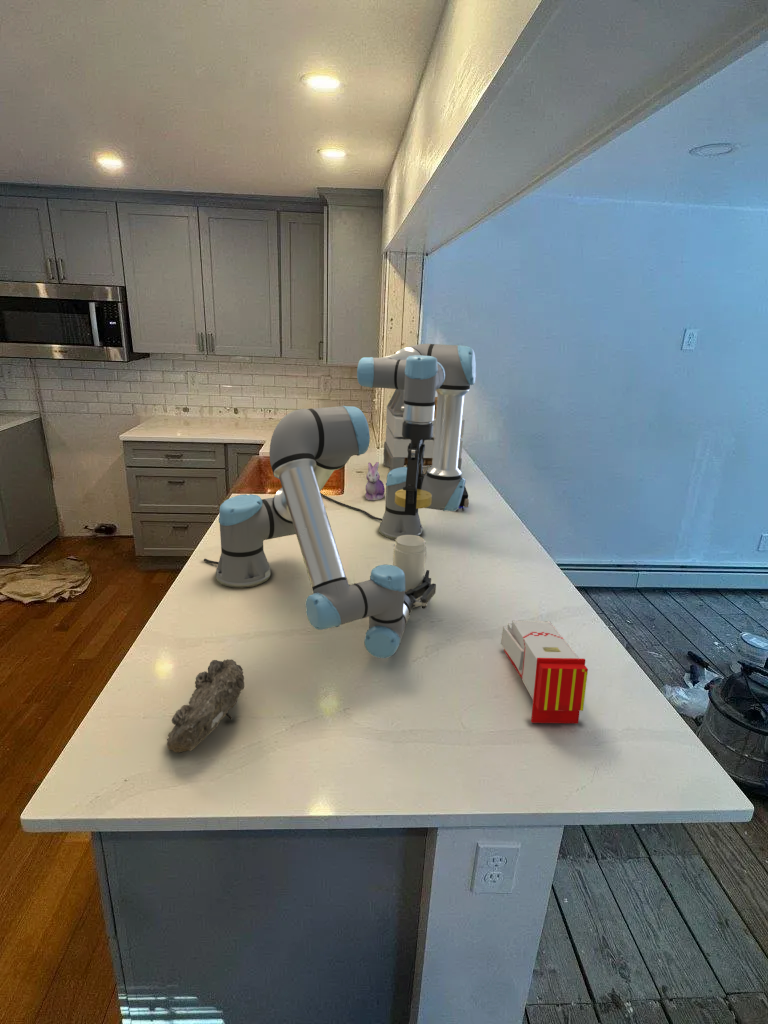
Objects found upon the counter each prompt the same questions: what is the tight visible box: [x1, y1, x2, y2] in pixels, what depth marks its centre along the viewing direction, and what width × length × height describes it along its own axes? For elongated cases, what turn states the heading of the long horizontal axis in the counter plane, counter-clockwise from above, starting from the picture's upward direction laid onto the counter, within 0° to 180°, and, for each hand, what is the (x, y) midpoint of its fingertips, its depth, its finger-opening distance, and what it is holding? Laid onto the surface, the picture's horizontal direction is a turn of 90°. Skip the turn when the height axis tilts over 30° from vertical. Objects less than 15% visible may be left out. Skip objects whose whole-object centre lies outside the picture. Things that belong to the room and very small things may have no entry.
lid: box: [395, 489, 432, 510], centre depth 145 cm, size 9×10×2 cm
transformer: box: [383, 389, 465, 472], centre depth 268 cm, size 34×33×41 cm
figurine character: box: [455, 486, 470, 512], centre depth 229 cm, size 7×8×15 cm
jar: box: [392, 535, 427, 609], centre depth 152 cm, size 9×9×18 cm
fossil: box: [166, 658, 245, 754], centre depth 106 cm, size 22×10×15 cm
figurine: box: [364, 461, 386, 501], centre depth 234 cm, size 9×10×15 cm
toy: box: [500, 620, 589, 724], centre depth 121 cm, size 12×13×30 cm
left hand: (411, 572), depth 157 cm, fingers closed on jar, 9 cm apart
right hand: (412, 508), depth 146 cm, fingers closed on lid, 9 cm apart
